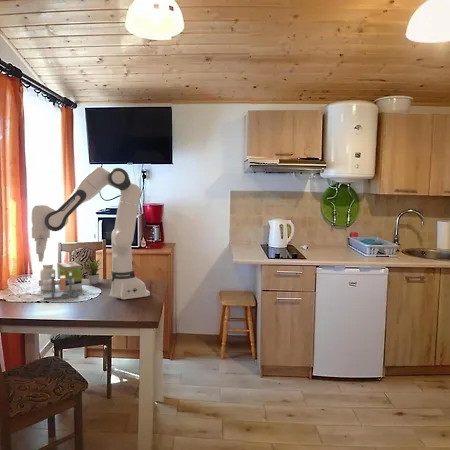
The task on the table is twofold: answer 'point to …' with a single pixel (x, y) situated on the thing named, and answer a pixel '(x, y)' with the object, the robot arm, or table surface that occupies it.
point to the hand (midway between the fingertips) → (41, 260)
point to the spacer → (62, 283)
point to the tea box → (76, 274)
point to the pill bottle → (47, 275)
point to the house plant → (93, 272)
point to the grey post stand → (61, 294)
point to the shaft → (56, 282)
